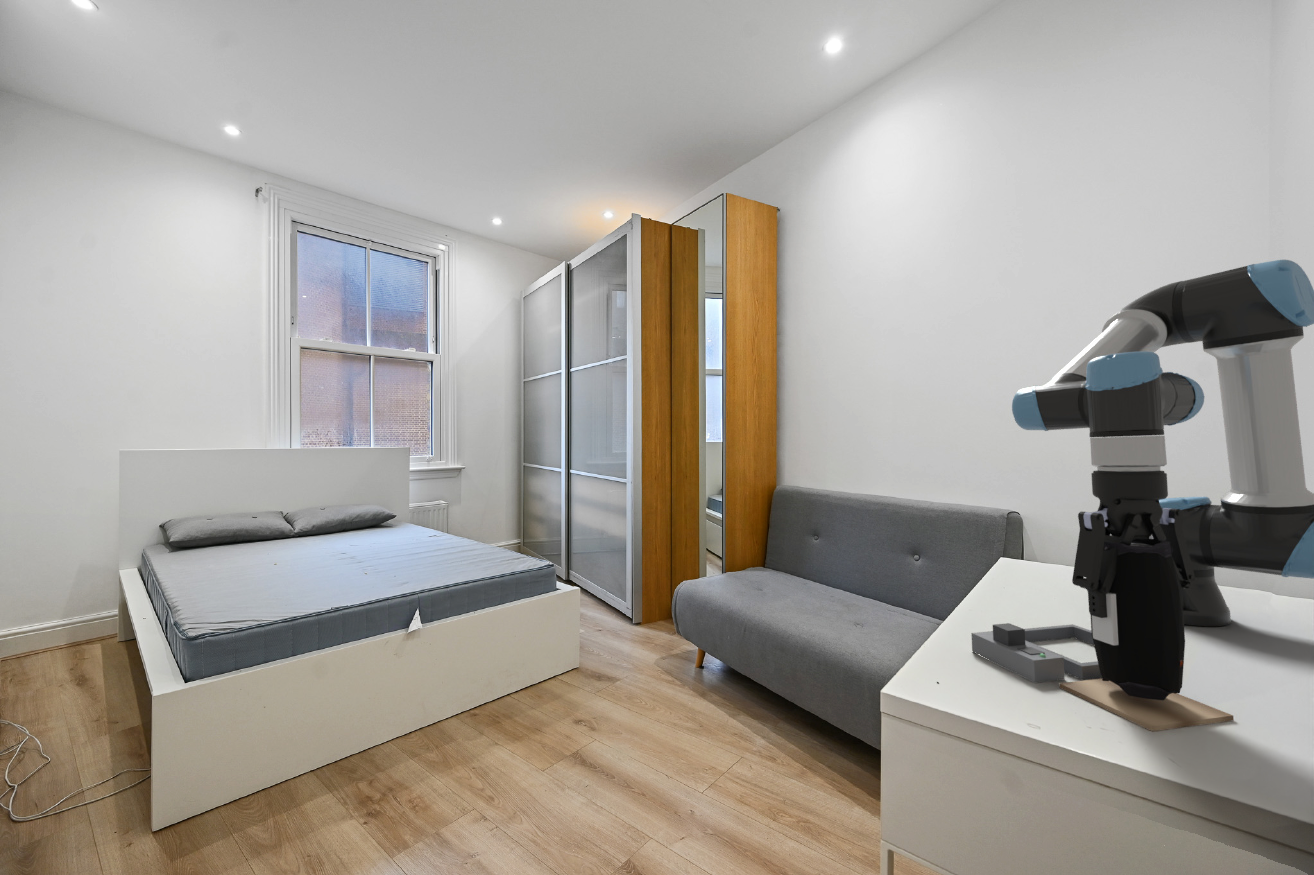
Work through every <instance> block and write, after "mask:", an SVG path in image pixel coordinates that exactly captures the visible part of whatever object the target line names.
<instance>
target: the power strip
mask: <svg viewBox="0 0 1314 875" xmlns="http://www.w3.org/2000/svg"><path fill="white" fill-rule="evenodd" d="M1025 629H1026V628H1024V627H1023V628H1022V627H1019V625H1014V624H1012V623H1008V622H1007V623H997V624H992V630H989V631H978V632H971V650H972V651H973V652H976V653H977V654H980V655H981V656H983V657H985V658H987V659H989V660H990V662H991V661H992V663H993V662H994V663H993V664H995V663H996V664H995V665H998V666H1000V667H1001V666H1002V668H1004V669H1005V670H1008V671H1010V672H1011V673H1014V674H1016V675H1018V676H1020V677H1022V678H1025V679H1026V680H1028V681H1030V682H1032V683H1035V684H1037V683H1046V682H1054V681H1055V682H1056V681H1064V680H1065V672H1064V658H1063V657H1061V656H1059V655H1056V654H1054V653H1051V652H1049V651H1047V650H1044V649H1042V648H1039V647H1037V646H1034V645H1032V644H1029V643H1027V642H1025ZM973 652H972V653H973ZM977 654H976V655H977ZM981 656H980V657H981ZM983 657H982V658H983ZM985 658H984V659H985ZM987 659H986V660H987ZM989 660H988V661H989Z"/></svg>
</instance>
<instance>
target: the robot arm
mask: <svg viewBox="0 0 1314 875" xmlns="http://www.w3.org/2000/svg"><path fill="white" fill-rule="evenodd" d="M1312 325H1314V287H1313V285H1312V282H1311V280H1310V279H1309V277H1308V275H1307V274H1306V272H1305V270H1304V269H1303V268H1302V266H1300V265H1299V263H1297V262H1295V261H1292V260H1289V259H1277V260H1271V261H1265V262H1259V263H1251V264H1248V265H1245V266H1241V267H1235V268H1233V269H1229V270H1224V271H1220V272H1219V271H1218V272H1215V273H1211V274H1208V275H1202V276H1199V277H1195V278H1190V279H1187V280H1180V281H1177V282H1171V283H1169V284H1166V285H1163V286H1160V287H1159V288H1156V289H1154V290H1151V291H1149V292H1147V293H1145V294H1144V295H1141V296H1139V297H1138V298H1137V299H1135V300H1132V301H1131V302H1130V303H1128V304H1126V305H1125V306H1123V307H1122V308H1121V309H1119V310H1118V311H1117V312H1115V313H1114V314H1113V315H1111V317H1110V318H1108V319H1107V320H1106V322H1105V323H1104V325H1103V327H1102V329H1101V334H1099V335H1098V336H1097V337H1096V338H1094V339H1093V340H1092V341H1091V342H1090V343H1089V344H1088V345H1087V346H1086V347H1085V348H1083V350H1082V351H1080V352H1079V353H1078V354H1077V355H1076V356H1075V357H1074V358H1073V359H1072V360H1070V361H1069V363H1067V364H1066V365H1064V367H1063V368H1062V369H1061V370H1059V371H1058V372H1057V373H1056V374H1055V375H1054V376H1053V377H1052V378H1051V379H1050V380H1048V381H1047V382H1046V383H1045V384H1043V385H1033V386H1030V387H1024V388H1020V389H1019V390H1018V391H1017V392H1016V393H1014V394H1015V395H1014V396H1013V399H1012V404H1011V410H1012V415H1013V418H1014V421H1015V423H1016V424H1017V426H1019V427H1020V428H1021V429H1022V430H1026V431H1044V432H1049V431H1057V430H1073V429H1075V430H1076V429H1089V438H1090V440H1089V441H1090V442H1089V443H1090V457H1091V458H1090V461H1091V466H1093V467H1095V468H1096V467H1097V470H1093V471H1092V472H1091V490H1092V495H1093V496H1094V497H1095V498H1097V499H1098V500H1099V506H1098V508H1097V510H1096V511H1092V512H1089V511H1079V512H1078V514H1077V518H1078V525H1079V534H1078V541H1077V545H1076V546H1077V547H1076V551H1075V560H1074V567H1073V573H1072V580H1071V581H1072V584H1073V585H1074V586H1077V587H1080V588H1082V589H1084V590H1086V592H1087V597H1088V613H1089V614H1090V616H1091V615H1092V629H1093V638H1094V639H1097V640H1100V641H1102V642H1105V643H1108V644H1111V645H1119V644H1118V625H1117V607H1116V594H1114V593H1109V591H1110V588H1111V586H1112V583H1113V580H1114V577H1115V575H1116V565H1117V555H1118V553H1117V547H1115V548H1110V549H1109V550H1103V547H1104V541H1110V542H1115V543H1122V544H1125V545H1127V546H1130V545H1131V542H1132V540H1135V541H1137V542H1141V543H1145V544H1149V545H1155V544H1158V543H1160V542H1161V541H1168V542H1170V548H1171V547H1172V549H1173V552H1172V553H1171V555H1172V558H1173V561H1174V565H1175V568H1176V571H1177V574H1178V578H1179V581H1180V584H1181V587H1182V602H1183V617H1184V625H1187V626H1197V627H1199V626H1200V627H1221V626H1228V625H1230V624H1231V623H1232V620H1231V618H1232V617H1231V610H1230V607H1228V605H1227V602H1226V600H1225V598H1224V596H1223V594H1222V591H1221V589H1220V588H1219V586H1218V584H1217V582H1216V577H1215V568H1222V569H1229V570H1236V571H1243V572H1244V571H1245V572H1253V573H1259V574H1267V575H1275V576H1281V577H1284V578H1289V577H1293V578H1300V579H1301V578H1303V579H1314V493H1313V492H1312V491H1310V490H1308V488H1307V485H1306V476H1305V467H1304V466H1305V465H1304V457H1303V450H1302V448H1303V447H1302V442H1301V441H1302V440H1301V430H1300V421H1299V413H1298V412H1299V410H1298V402H1297V393H1296V386H1295V376H1294V367H1293V357H1292V349H1293V347H1294V346H1296V345H1297V344H1298V343H1299V342H1300V341H1301V340H1303V338H1304V337H1305V335H1304V327H1305V328H1308V326H1312ZM1197 342H1202V349H1203V350H1202V351H1203V352H1205V353H1206V354H1209V355H1211V356H1212V357H1213V358H1215V359H1216V366H1217V372H1218V380H1219V382H1218V384H1219V389H1220V399H1221V409H1222V417H1223V424H1224V433H1225V443H1226V449H1227V450H1226V451H1227V453H1226V454H1227V459H1228V460H1227V461H1228V469H1229V478H1230V487H1231V488H1230V489H1229V490H1228V491H1227V492H1226V493H1224V494H1223V495H1222V496H1221V497H1220V505H1219V504H1212V500H1211V499H1210V497H1208V496H1186V497H1185V496H1184V497H1168V495H1169V490H1168V489H1169V488H1168V474H1167V473H1166V472H1165V471H1164V470H1161V467H1165V466H1166V465H1167V464H1168V462H1167V450H1166V449H1167V447H1166V437H1165V426H1169V427H1170V426H1171V427H1172V426H1174V425H1177V424H1182V423H1184V422H1187V421H1189V420H1191V419H1192V418H1194V417H1195V416H1197V415H1198V413H1199V412H1201V410H1202V408H1203V405H1204V403H1205V394H1204V390H1203V388H1202V387H1201V385H1200V384H1199V383H1198V381H1196V380H1194V379H1192V378H1191V377H1189V376H1186V375H1183V374H1179V373H1178V372H1175V373H1174V372H1173V371H1165V372H1164V371H1163V368H1162V366H1161V362H1160V356H1159V355H1158V354H1157V353H1156V351H1158V350H1159V349H1160V348H1164V347H1171V346H1176V345H1182V344H1189V343H1197ZM1110 535H1112V536H1110ZM1099 580H1100V583H1099V582H1098V581H1099Z"/></svg>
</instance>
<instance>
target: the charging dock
mask: <svg viewBox="0 0 1314 875" xmlns="http://www.w3.org/2000/svg"><path fill="white" fill-rule="evenodd" d="M1024 629H1025V642H1027V643H1029V644H1032V645H1034V646H1037V647H1039V648H1042V649H1044V650H1047V651H1049V652H1051V653H1054V654H1056V655H1059V656H1061V657H1063V658H1064V674H1065V673H1066V674H1068V675H1070V676H1072V677H1075V678H1077V679H1079V680H1080V681H1084V680H1092V679H1101V678H1102V676H1101V674H1100V669H1099V665H1098V660H1097V661H1096V660H1095V661H1089V662H1080V661H1078V660H1075V659H1072V658H1069V657H1067V656H1065V655H1063V654H1059V653H1058V652H1055V651H1053V650H1050V649H1048V648H1045V647H1042V646H1040V645H1038V644H1035V642H1037V643H1038V642H1047V641H1048V642H1049V641H1057V640H1067V639H1075V640H1078V641H1081V642H1084V643H1087V644H1089V645H1092V646H1094V643H1093V638H1092V632H1091V629H1087V628H1084V627H1082V626H1079V625H1076V624H1063V625H1054V626H1053V625H1051V626H1042V627H1041V626H1040V627H1030V628H1024Z"/></svg>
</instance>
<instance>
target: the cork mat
mask: <svg viewBox="0 0 1314 875" xmlns="http://www.w3.org/2000/svg"><path fill="white" fill-rule="evenodd" d="M1058 684H1059V685H1058V686H1059V688H1060V689H1061V690H1064V691H1065V692H1068V693H1070V694H1073V695H1075V696H1077V697H1079V698H1081V699H1083V700H1085V701H1087V702H1090V703H1092V704H1093V705H1095V706H1097V707H1100V708H1102V709H1104V710H1106V711H1108V712H1110V713H1112V714H1114V715H1116V716H1119V717H1121V718H1123V719H1124V720H1127V721H1129V722H1130V723H1131V722H1132V723H1134V724H1136V725H1138V726H1139V727H1142V728H1144V729H1147V730H1149V731H1150V732H1159V731H1164V730H1166V731H1167V730H1173V729H1174V730H1175V729H1180V728H1188V727H1194V726H1203V725H1211V724H1218V723H1224V722H1232V721H1231V720H1233V721H1234V715H1233V714H1231V713H1228V712H1225V711H1223V710H1220V709H1218V708H1215V707H1212V706H1210V705H1207V704H1205V703H1202V702H1200V701H1197V700H1195V699H1192V698H1190V697H1187V696H1185V695H1182V694H1180V693H1176V694H1174V693H1171V694H1169V695H1168V696H1167V697H1166V699H1165V700H1153V699H1145V698H1139V697H1133V696H1129V695H1128V694H1126V693H1125V692H1124V691H1123V690H1122V689H1121V688H1120V687H1119V686H1118V685H1116V684H1115V683H1113V682H1111V681H1102V678H1098V679H1089V680H1078V681H1067V682H1066V681H1065V682H1059V683H1058Z"/></svg>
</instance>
